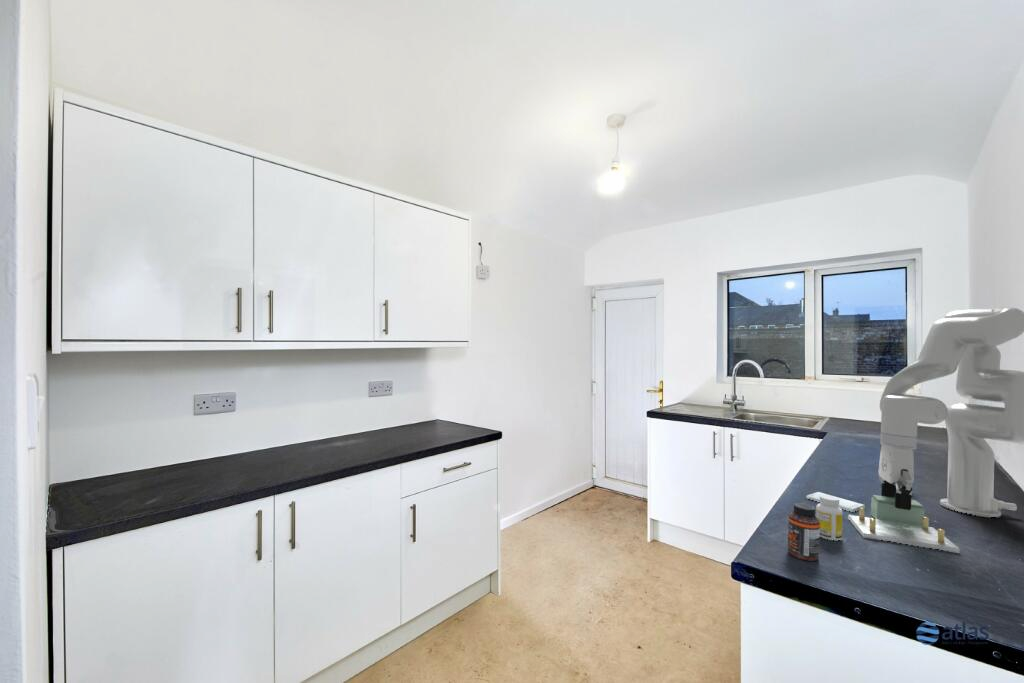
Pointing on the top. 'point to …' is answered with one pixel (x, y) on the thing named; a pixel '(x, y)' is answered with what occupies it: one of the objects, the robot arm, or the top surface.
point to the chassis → (902, 532)
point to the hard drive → (843, 503)
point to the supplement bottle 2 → (830, 518)
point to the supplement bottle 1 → (803, 532)
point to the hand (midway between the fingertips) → (895, 503)
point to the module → (896, 510)
